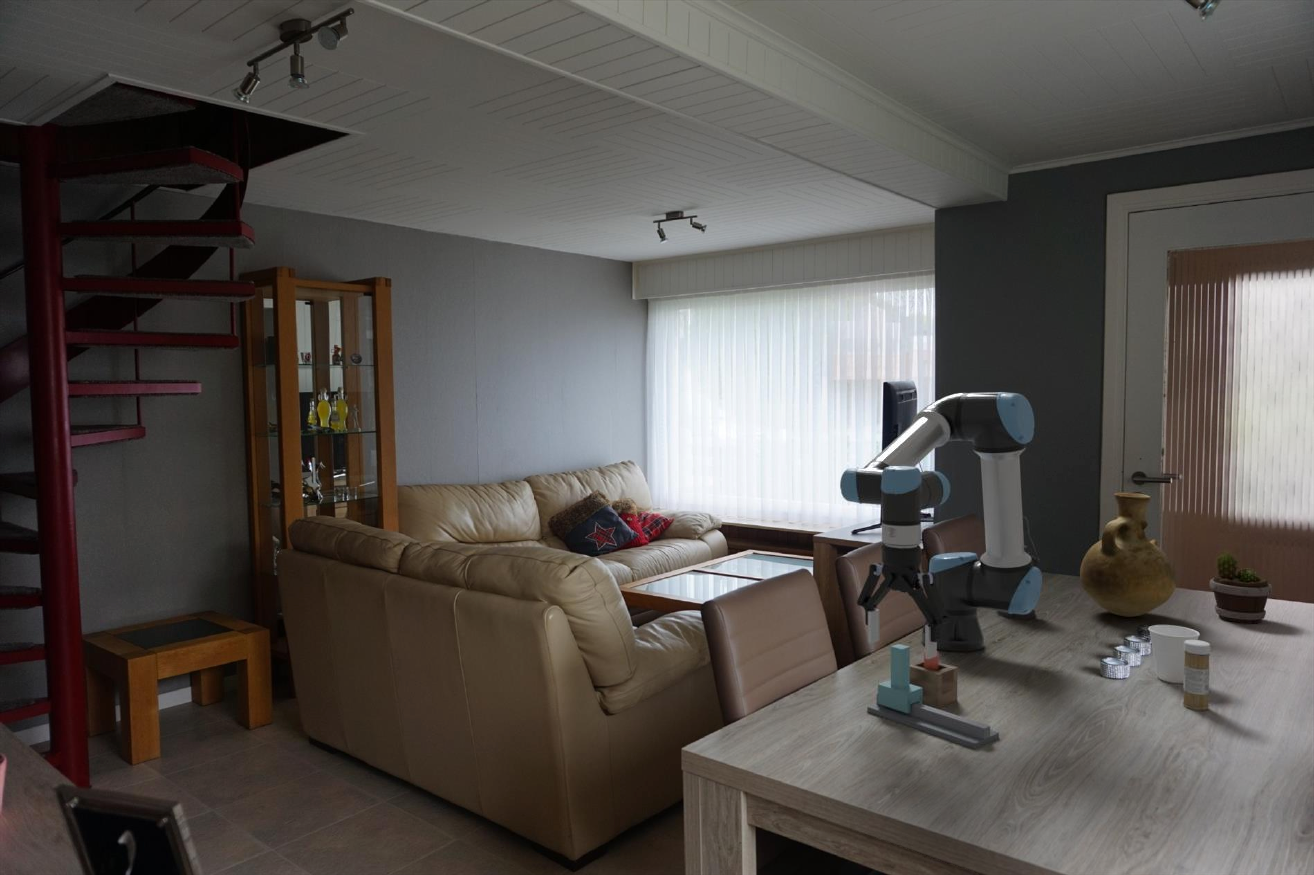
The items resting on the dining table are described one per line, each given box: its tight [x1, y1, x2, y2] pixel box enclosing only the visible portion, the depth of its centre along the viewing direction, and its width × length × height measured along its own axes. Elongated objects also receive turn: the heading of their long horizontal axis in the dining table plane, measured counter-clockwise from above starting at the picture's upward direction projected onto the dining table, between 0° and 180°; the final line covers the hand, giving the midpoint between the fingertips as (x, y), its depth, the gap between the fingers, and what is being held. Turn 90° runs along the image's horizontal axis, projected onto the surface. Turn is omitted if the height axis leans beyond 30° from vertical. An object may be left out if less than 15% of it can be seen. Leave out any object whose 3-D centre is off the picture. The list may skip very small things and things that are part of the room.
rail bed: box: [866, 692, 1000, 750], centre depth 169 cm, size 24×8×3 cm, turn 39°
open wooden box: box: [910, 658, 959, 709], centre depth 183 cm, size 8×7×7 cm
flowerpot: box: [1209, 547, 1273, 624], centre depth 243 cm, size 14×15×20 cm
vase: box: [1079, 492, 1177, 618], centre depth 248 cm, size 24×24×35 cm
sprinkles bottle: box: [1182, 639, 1211, 711], centre depth 177 cm, size 5×5×13 cm
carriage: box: [877, 643, 923, 713], centre depth 174 cm, size 7×5×12 cm
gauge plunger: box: [923, 650, 940, 671], centre depth 182 cm, size 3×3×4 cm
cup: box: [1147, 624, 1201, 684], centre depth 194 cm, size 10×10×11 cm
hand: (901, 649), depth 174 cm, fingers open, 13 cm apart
